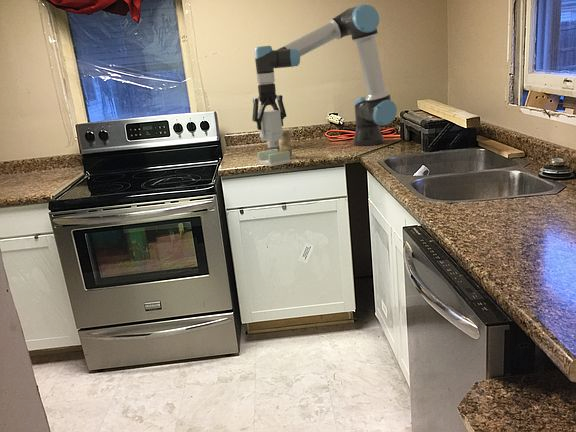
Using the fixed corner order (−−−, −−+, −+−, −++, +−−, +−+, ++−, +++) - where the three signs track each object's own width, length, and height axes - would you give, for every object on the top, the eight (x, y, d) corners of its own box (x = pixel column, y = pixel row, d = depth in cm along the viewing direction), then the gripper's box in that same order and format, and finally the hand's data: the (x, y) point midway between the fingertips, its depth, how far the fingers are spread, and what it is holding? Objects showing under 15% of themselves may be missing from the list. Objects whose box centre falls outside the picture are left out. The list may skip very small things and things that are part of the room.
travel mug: (278, 148, 270) (275, 110, 264) (266, 149, 271) (262, 111, 266) (281, 146, 276) (277, 108, 270) (269, 147, 277) (265, 109, 272)
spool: (289, 155, 250) (287, 128, 246) (299, 157, 242) (297, 129, 238) (273, 158, 246) (270, 130, 242) (283, 160, 238) (280, 132, 234)
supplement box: (283, 138, 231) (280, 110, 228) (272, 141, 226) (269, 112, 223) (271, 138, 236) (268, 110, 233) (260, 140, 231) (257, 112, 227)
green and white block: (277, 159, 242) (276, 148, 240) (290, 162, 232) (289, 151, 230) (258, 163, 237) (257, 152, 235) (270, 166, 227) (269, 155, 225)
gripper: (283, 81, 232) (287, 131, 239) (240, 86, 222) (246, 138, 229) (291, 81, 226) (296, 132, 232) (248, 85, 216) (253, 139, 223)
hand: (271, 135), depth 231 cm, fingers closed on supplement box, 9 cm apart
